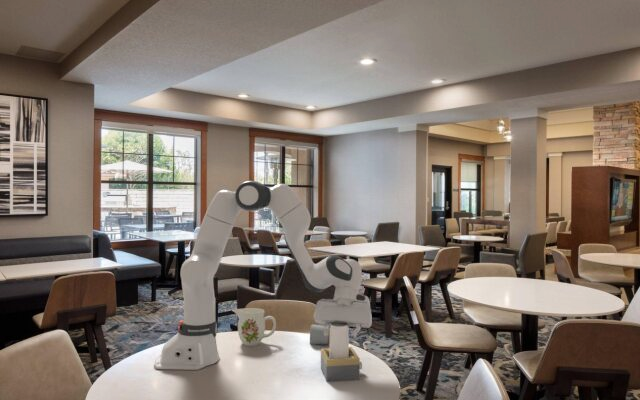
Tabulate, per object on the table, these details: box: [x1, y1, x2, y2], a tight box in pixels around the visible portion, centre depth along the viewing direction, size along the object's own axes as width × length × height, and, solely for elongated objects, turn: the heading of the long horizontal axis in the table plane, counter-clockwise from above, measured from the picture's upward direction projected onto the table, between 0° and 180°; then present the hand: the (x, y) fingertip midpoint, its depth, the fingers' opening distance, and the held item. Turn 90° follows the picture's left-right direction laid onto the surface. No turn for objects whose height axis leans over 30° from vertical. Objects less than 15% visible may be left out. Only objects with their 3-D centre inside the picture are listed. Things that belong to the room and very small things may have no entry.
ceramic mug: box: [309, 324, 330, 346], centre depth 181 cm, size 11×8×8 cm
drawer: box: [320, 346, 363, 383], centre depth 149 cm, size 13×11×7 cm
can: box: [329, 321, 350, 359], centre depth 149 cm, size 6×6×12 cm
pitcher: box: [231, 307, 277, 347], centre depth 180 cm, size 11×18×14 cm, turn 94°
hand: (339, 335), depth 148 cm, fingers open, 8 cm apart
